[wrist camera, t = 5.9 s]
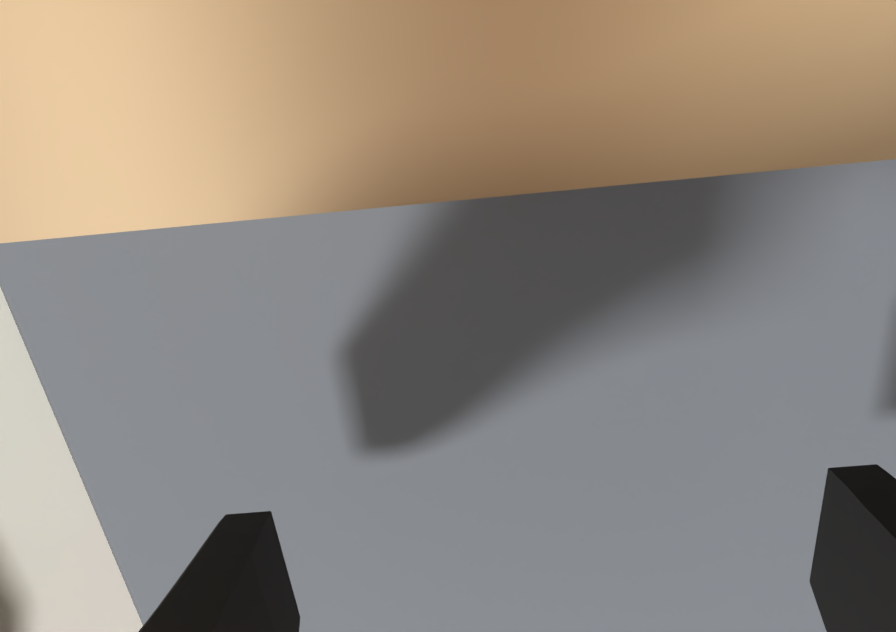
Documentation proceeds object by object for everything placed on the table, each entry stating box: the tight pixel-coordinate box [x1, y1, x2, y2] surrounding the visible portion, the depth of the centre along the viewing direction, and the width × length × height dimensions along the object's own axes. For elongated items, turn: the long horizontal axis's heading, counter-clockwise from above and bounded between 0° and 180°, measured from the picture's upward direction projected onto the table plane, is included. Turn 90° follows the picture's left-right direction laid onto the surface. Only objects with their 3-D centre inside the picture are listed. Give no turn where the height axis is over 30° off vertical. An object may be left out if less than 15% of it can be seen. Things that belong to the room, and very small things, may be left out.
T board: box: [0, 159, 896, 632], centre depth 11 cm, size 14×23×1 cm, turn 6°
